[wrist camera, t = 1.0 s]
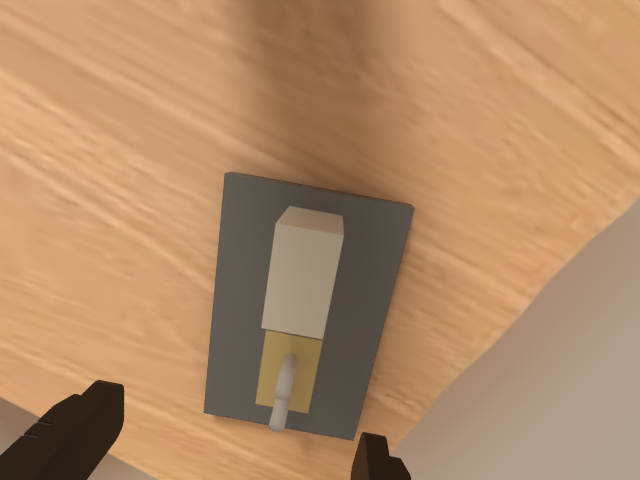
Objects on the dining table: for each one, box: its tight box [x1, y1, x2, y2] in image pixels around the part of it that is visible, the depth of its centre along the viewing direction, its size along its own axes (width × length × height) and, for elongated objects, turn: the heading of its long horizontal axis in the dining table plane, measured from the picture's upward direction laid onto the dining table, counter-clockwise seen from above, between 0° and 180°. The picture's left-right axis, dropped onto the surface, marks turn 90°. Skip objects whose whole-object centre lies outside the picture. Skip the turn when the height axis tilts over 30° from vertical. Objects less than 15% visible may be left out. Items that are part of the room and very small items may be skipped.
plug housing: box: [261, 206, 344, 339], centre depth 22 cm, size 7×4×6 cm, turn 170°
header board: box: [204, 172, 415, 441], centre depth 26 cm, size 22×14×6 cm, turn 170°
